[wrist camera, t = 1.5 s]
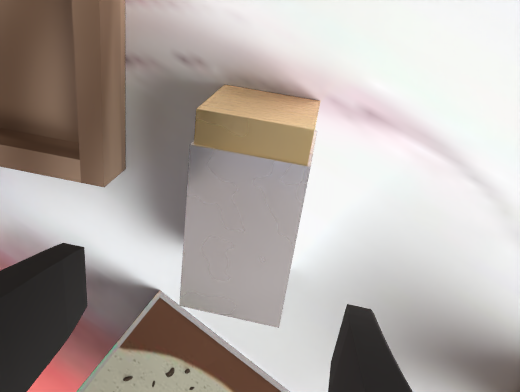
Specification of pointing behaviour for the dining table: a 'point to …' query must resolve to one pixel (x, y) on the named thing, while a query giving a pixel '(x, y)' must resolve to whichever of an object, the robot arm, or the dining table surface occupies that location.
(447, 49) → the dining table surface
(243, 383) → the food container
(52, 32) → the wooden tray
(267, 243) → the white yellow block
